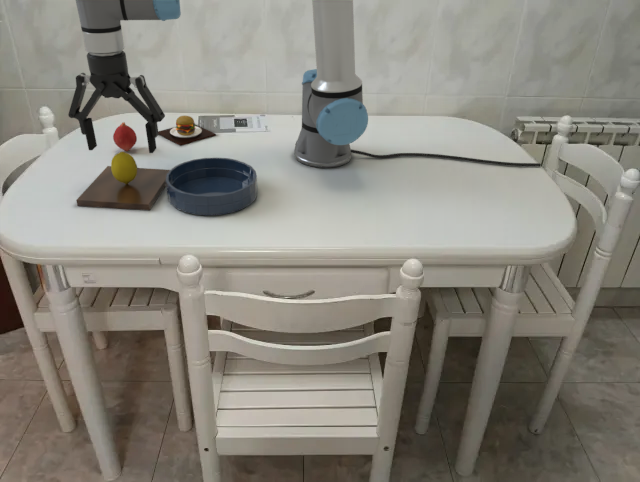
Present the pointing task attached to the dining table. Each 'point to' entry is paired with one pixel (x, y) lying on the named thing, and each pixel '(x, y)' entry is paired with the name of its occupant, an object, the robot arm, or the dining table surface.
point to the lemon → (124, 167)
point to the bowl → (211, 186)
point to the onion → (124, 137)
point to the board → (125, 190)
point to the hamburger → (185, 132)
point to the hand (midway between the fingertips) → (122, 149)
